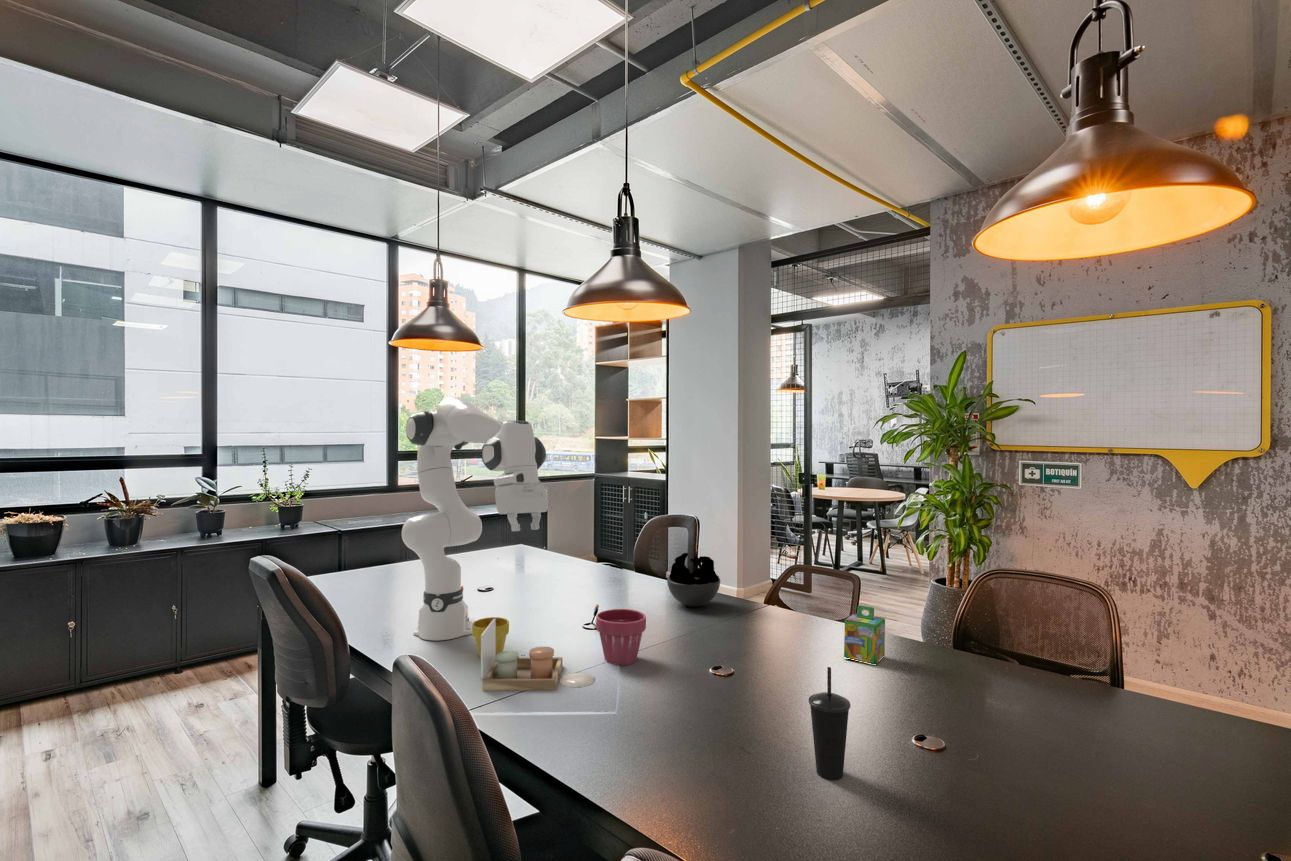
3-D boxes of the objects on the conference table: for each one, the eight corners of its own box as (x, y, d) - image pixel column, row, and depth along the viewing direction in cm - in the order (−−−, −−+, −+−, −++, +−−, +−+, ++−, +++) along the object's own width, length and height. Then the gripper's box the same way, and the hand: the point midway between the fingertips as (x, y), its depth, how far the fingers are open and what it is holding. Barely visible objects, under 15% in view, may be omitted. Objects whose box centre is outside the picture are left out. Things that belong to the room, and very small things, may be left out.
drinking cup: (803, 763, 121) (802, 660, 122) (841, 761, 122) (840, 659, 122) (817, 785, 114) (816, 676, 114) (857, 783, 114) (857, 674, 115)
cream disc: (561, 675, 166) (561, 672, 166) (595, 675, 166) (595, 672, 166) (557, 689, 157) (557, 686, 157) (593, 689, 157) (593, 686, 157)
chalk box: (843, 659, 177) (843, 608, 178) (853, 650, 185) (853, 601, 185) (876, 667, 172) (876, 613, 172) (885, 657, 179) (885, 606, 179)
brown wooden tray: (496, 668, 171) (496, 657, 171) (562, 668, 171) (562, 657, 171) (482, 692, 155) (482, 680, 155) (554, 692, 155) (554, 680, 155)
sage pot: (498, 673, 166) (498, 650, 166) (520, 673, 166) (520, 650, 166) (493, 682, 160) (493, 658, 160) (516, 682, 160) (516, 658, 160)
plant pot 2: (653, 655, 181) (653, 611, 181) (632, 672, 168) (632, 625, 168) (610, 648, 187) (610, 606, 187) (586, 664, 174) (586, 618, 174)
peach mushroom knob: (531, 672, 166) (531, 646, 166) (555, 672, 166) (555, 646, 166) (527, 682, 160) (527, 655, 160) (552, 682, 160) (552, 654, 160)
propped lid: (493, 660, 170) (493, 618, 170) (496, 660, 170) (496, 618, 170) (480, 680, 156) (480, 635, 156) (484, 680, 156) (484, 635, 156)
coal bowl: (723, 613, 224) (723, 561, 224) (667, 613, 224) (667, 560, 224) (717, 598, 244) (717, 550, 244) (666, 598, 244) (666, 550, 244)
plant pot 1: (499, 663, 175) (499, 628, 175) (465, 660, 177) (465, 626, 177) (514, 651, 185) (514, 618, 185) (482, 648, 187) (482, 616, 187)
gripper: (532, 481, 178) (536, 529, 176) (489, 479, 159) (493, 533, 157) (551, 478, 176) (555, 527, 174) (510, 475, 157) (514, 531, 155)
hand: (525, 530), depth 165 cm, fingers open, 8 cm apart
